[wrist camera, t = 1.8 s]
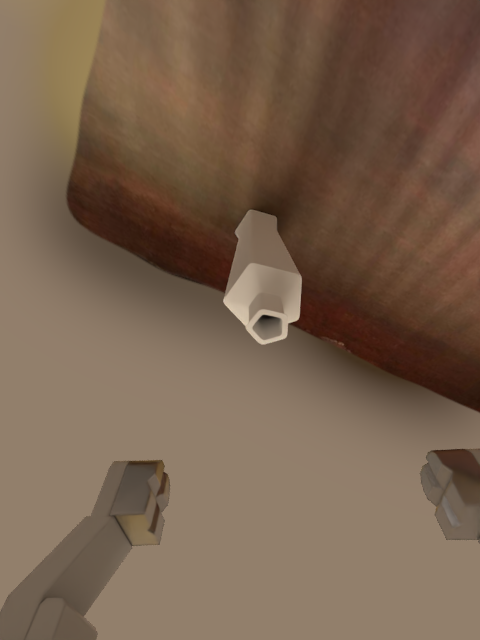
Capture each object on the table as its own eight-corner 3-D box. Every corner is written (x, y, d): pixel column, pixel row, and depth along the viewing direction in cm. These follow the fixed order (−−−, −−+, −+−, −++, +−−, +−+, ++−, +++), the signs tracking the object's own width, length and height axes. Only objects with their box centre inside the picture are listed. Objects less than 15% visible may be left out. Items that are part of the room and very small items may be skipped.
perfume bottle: (264, 265, 30) (279, 375, 18) (224, 240, 29) (210, 340, 16) (295, 224, 28) (335, 317, 16) (253, 195, 27) (262, 271, 14)
